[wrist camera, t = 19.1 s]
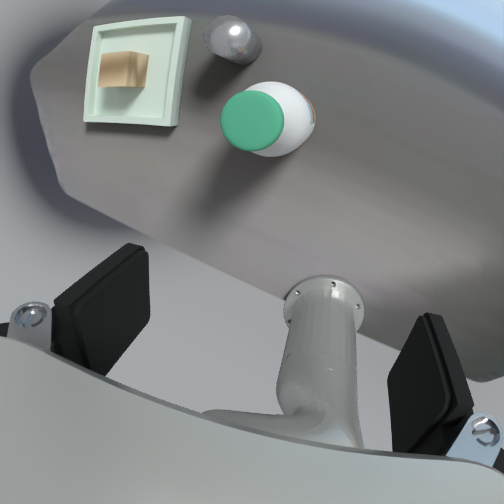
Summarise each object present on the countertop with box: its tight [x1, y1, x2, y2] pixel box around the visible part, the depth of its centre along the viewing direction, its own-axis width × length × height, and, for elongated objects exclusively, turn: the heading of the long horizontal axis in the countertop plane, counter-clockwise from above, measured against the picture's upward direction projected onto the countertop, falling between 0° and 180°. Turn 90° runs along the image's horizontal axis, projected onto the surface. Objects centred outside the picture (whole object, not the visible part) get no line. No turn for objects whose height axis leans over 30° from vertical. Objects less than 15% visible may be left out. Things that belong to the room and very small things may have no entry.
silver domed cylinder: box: [203, 15, 262, 65], centre depth 33 cm, size 5×5×8 cm
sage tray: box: [83, 16, 192, 126], centre depth 39 cm, size 16×16×2 cm
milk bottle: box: [220, 82, 315, 157], centre depth 30 cm, size 8×8×20 cm
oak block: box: [98, 51, 149, 87], centre depth 37 cm, size 5×5×5 cm
